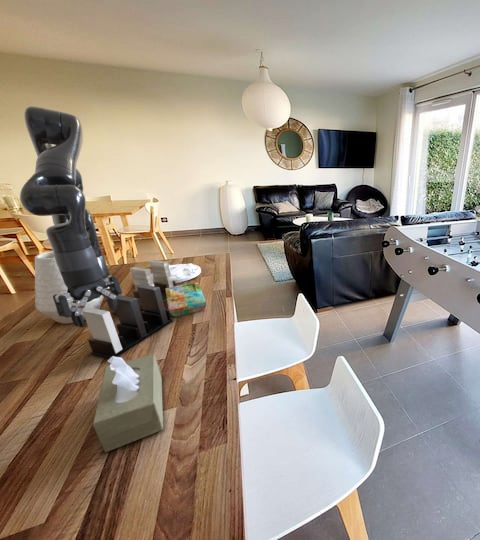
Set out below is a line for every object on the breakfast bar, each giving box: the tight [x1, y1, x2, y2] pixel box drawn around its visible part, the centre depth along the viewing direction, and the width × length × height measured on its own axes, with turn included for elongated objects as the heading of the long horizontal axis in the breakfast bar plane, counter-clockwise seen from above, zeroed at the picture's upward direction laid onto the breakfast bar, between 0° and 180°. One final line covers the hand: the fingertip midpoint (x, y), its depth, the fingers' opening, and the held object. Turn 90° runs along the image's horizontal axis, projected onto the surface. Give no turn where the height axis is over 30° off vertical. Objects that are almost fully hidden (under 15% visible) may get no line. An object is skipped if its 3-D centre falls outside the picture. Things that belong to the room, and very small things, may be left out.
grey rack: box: [87, 284, 174, 360], centre depth 89 cm, size 21×8×14 cm, turn 166°
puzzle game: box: [165, 281, 207, 318], centre depth 111 cm, size 12×5×20 cm
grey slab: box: [113, 259, 177, 315], centre depth 109 cm, size 21×8×14 cm, turn 166°
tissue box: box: [92, 353, 164, 453], centre depth 64 cm, size 19×10×16 cm, turn 33°
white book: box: [82, 308, 122, 353], centre depth 82 cm, size 2×7×13 cm, turn 76°
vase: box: [34, 250, 105, 325], centre depth 97 cm, size 18×17×23 cm
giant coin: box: [151, 262, 202, 285], centre depth 134 cm, size 20×20×3 cm
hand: (98, 318), depth 80 cm, fingers open, 8 cm apart
